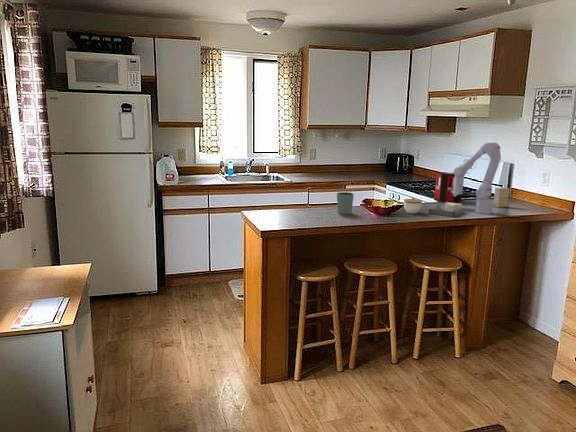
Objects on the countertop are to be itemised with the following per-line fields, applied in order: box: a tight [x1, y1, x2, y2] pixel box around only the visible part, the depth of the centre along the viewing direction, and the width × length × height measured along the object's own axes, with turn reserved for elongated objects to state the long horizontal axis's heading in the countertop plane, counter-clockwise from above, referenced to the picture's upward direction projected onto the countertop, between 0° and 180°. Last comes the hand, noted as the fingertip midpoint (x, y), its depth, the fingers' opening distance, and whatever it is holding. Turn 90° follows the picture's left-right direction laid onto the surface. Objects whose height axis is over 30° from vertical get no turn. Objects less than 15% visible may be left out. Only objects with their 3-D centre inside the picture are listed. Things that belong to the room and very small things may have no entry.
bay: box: [428, 204, 464, 218], centre depth 299 cm, size 15×20×3 cm
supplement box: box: [492, 186, 510, 208], centre depth 326 cm, size 8×5×13 cm, turn 108°
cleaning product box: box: [433, 171, 464, 203], centre depth 342 cm, size 16×9×20 cm, turn 98°
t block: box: [444, 202, 463, 212], centre depth 309 cm, size 10×10×4 cm
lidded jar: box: [403, 197, 423, 214], centre depth 297 cm, size 11×11×9 cm
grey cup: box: [336, 191, 354, 215], centre depth 288 cm, size 10×10×12 cm
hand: (456, 205), depth 317 cm, fingers closed
